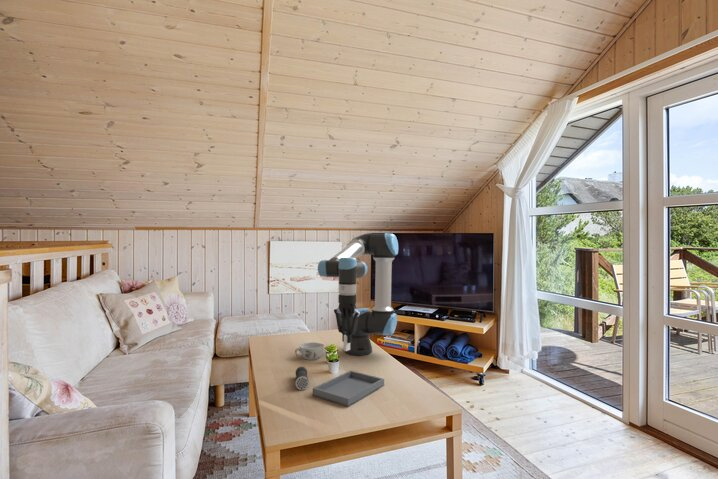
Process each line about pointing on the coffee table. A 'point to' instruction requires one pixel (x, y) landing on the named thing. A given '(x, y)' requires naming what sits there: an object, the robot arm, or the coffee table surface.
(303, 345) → the teacup
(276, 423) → the coffee table surface
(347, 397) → the box
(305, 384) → the flashlight
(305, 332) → the coffee table surface
